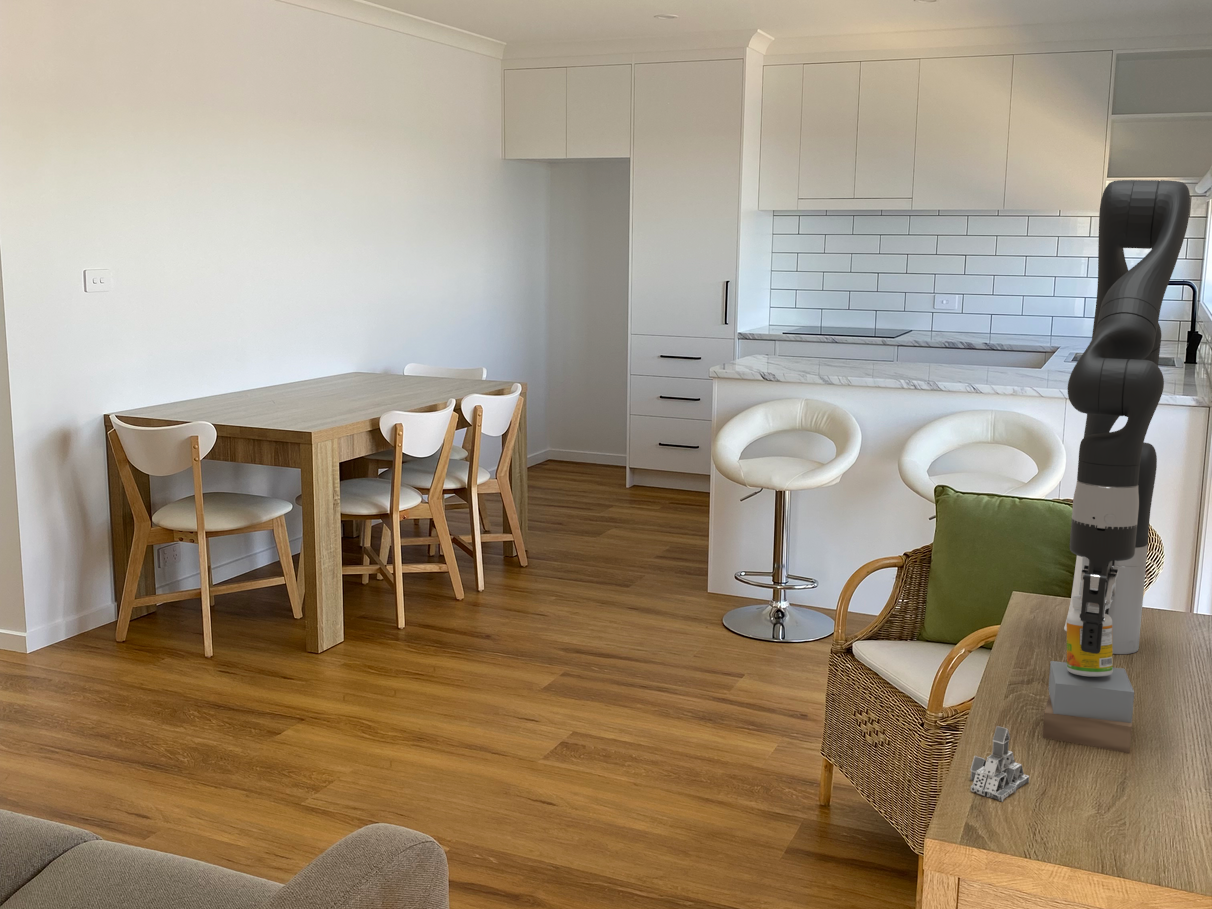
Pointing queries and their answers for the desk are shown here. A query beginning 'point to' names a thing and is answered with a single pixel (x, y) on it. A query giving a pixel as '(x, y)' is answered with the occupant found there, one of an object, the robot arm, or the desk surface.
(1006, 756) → the house of cards
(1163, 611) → the desk surface
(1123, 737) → the base block
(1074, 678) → the top block
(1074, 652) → the supplement bottle
